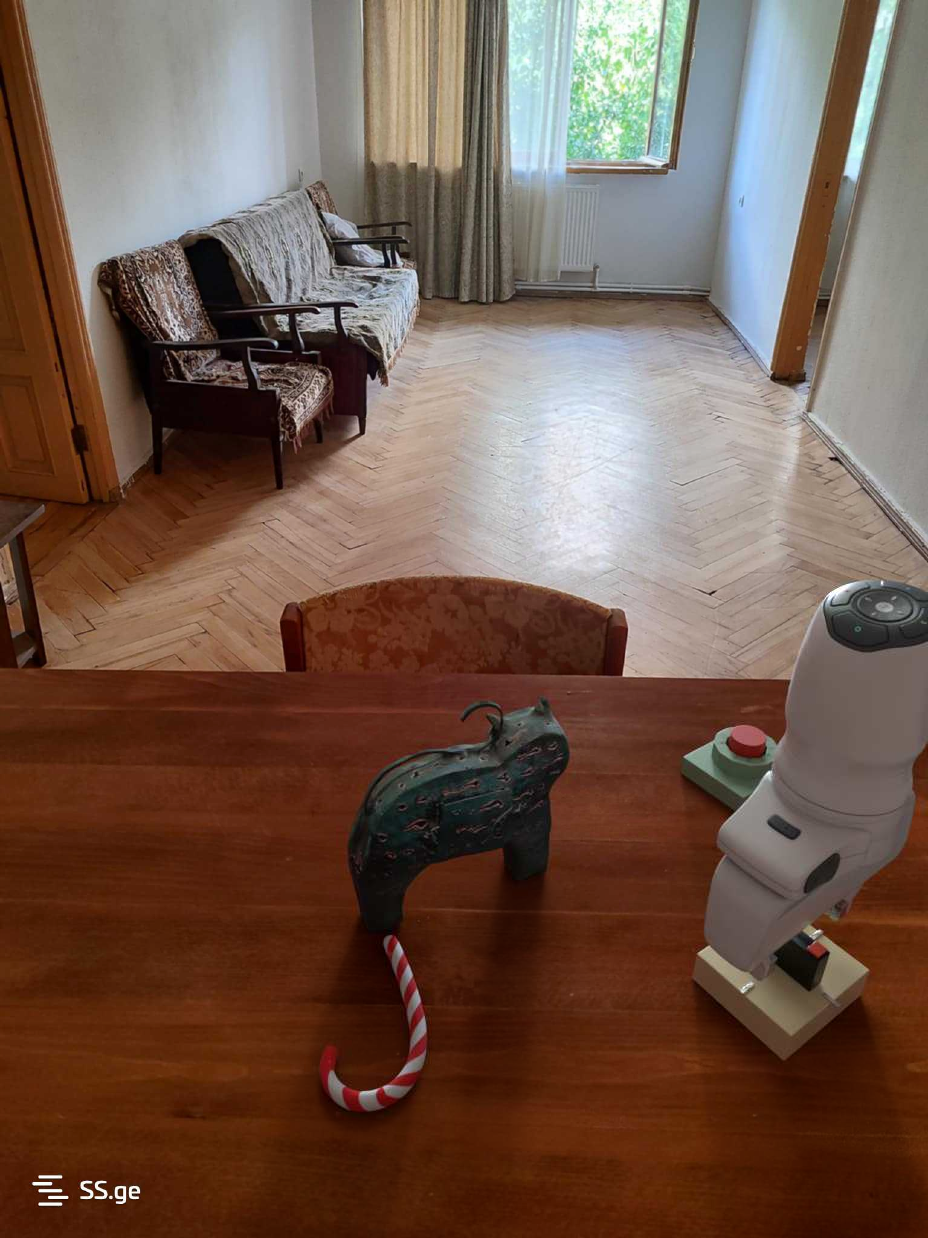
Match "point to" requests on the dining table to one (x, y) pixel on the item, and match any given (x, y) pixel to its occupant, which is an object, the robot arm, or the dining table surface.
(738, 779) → the button box
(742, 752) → the red button
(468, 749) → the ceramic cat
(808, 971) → the black battery pack
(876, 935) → the dining table surface
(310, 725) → the dining table surface
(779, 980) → the battery holder base
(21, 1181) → the dining table surface
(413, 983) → the candy cane
